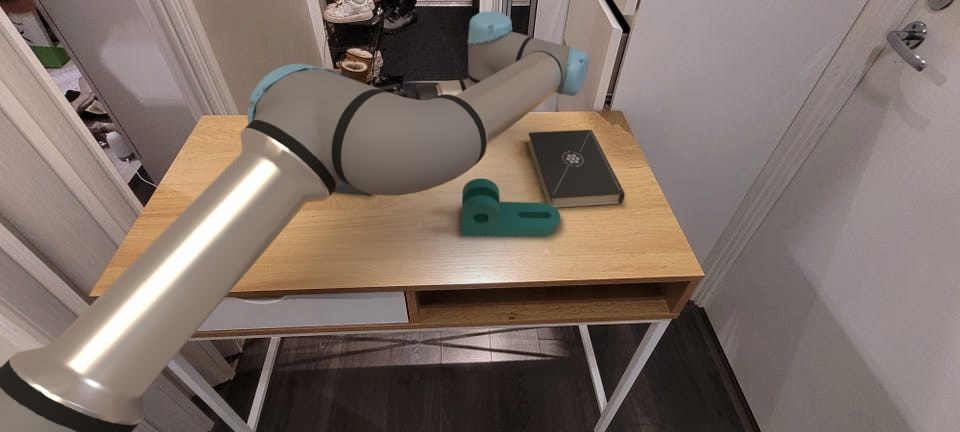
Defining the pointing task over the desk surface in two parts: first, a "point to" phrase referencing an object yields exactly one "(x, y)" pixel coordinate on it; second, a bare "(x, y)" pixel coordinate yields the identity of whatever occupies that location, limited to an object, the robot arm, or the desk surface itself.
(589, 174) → the book
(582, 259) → the desk surface
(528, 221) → the bracket
